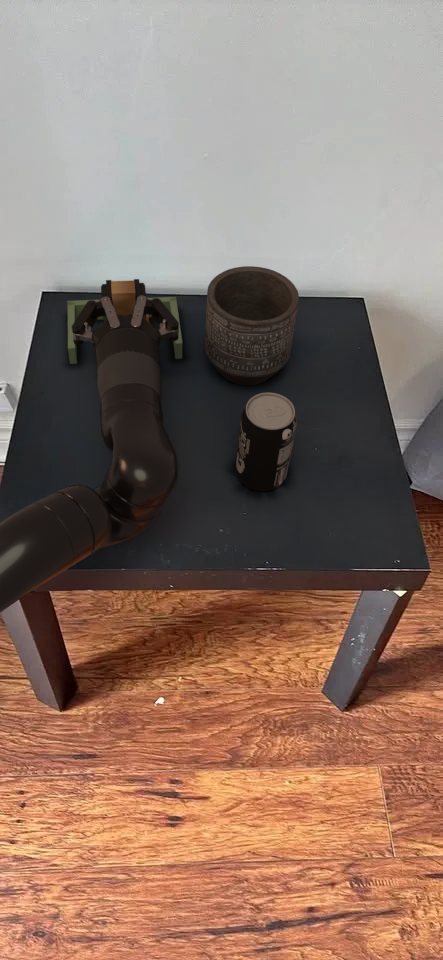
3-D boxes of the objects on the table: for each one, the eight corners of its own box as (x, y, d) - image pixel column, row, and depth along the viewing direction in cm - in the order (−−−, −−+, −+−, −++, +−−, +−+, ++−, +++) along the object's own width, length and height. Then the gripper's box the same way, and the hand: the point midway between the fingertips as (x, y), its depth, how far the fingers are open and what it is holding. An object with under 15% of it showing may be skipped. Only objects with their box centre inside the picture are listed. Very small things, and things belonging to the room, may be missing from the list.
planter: (303, 379, 107) (317, 308, 97) (229, 406, 103) (236, 335, 93) (260, 327, 113) (268, 256, 103) (188, 351, 109) (190, 279, 99)
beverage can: (228, 460, 97) (234, 395, 88) (275, 450, 99) (286, 385, 89) (244, 499, 93) (253, 436, 84) (293, 488, 95) (307, 425, 85)
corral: (70, 364, 106) (67, 348, 104) (69, 316, 113) (67, 300, 110) (182, 358, 108) (182, 343, 106) (175, 312, 115) (175, 296, 112)
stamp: (103, 378, 105) (95, 297, 94) (102, 339, 110) (94, 258, 99) (153, 375, 106) (151, 295, 95) (150, 337, 111) (147, 257, 100)
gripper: (188, 350, 86) (175, 259, 97) (65, 355, 85) (65, 262, 95) (187, 395, 92) (175, 305, 103) (72, 401, 91) (71, 309, 101)
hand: (122, 285), depth 99 cm, fingers closed on stamp, 3 cm apart
